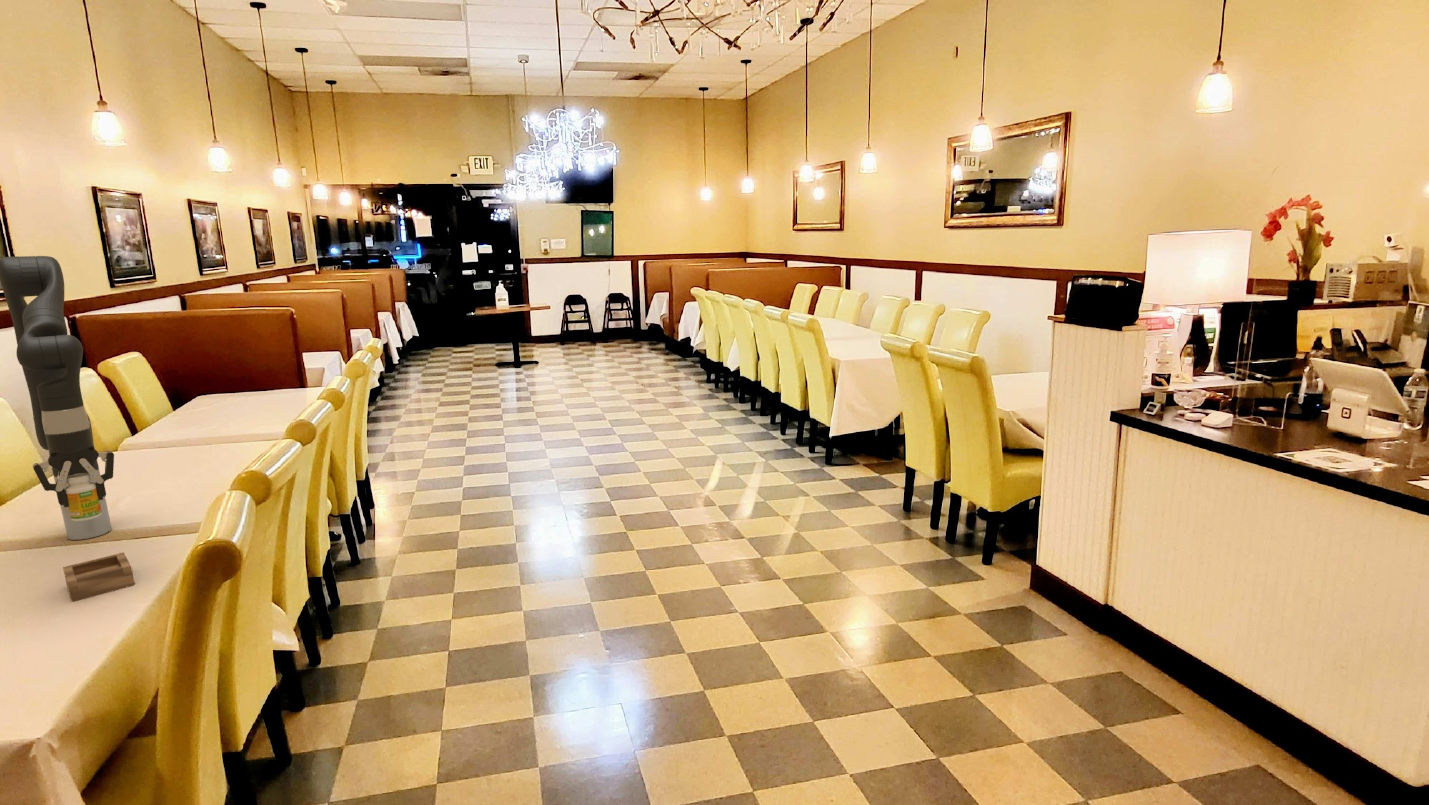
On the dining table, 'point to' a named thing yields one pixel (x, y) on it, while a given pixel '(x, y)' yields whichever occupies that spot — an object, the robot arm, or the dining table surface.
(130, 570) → the wooden open box
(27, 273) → the robot arm
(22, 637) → the dining table surface
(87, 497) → the supplement bottle
